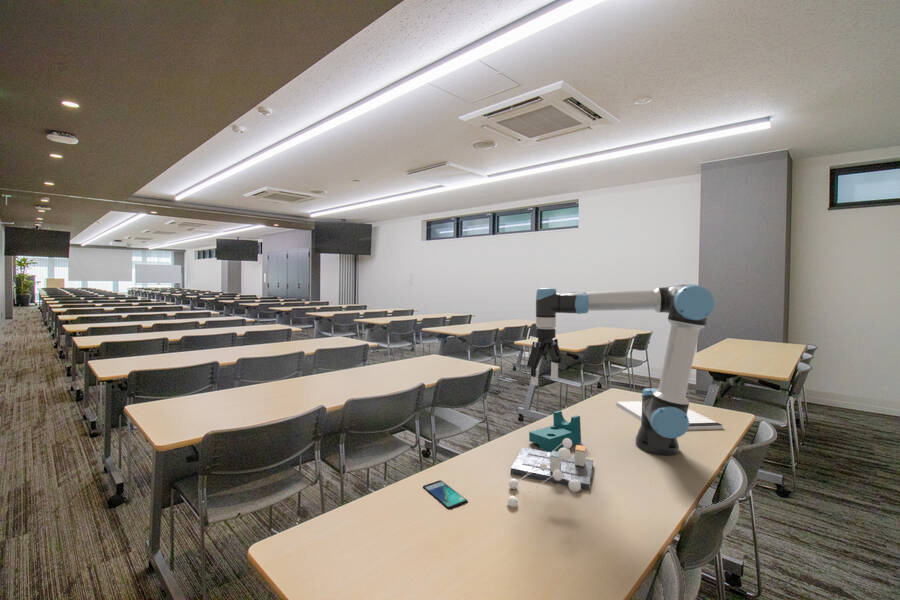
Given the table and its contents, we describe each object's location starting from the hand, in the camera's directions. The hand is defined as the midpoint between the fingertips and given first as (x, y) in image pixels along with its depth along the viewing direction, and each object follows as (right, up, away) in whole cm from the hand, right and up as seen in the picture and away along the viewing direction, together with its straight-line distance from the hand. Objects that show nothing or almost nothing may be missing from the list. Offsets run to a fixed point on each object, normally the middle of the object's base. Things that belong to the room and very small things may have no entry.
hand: (544, 381), depth 154 cm
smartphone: (-39, -27, -35) cm, 59 cm away
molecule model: (-9, -28, -34) cm, 45 cm away
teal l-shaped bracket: (+5, -26, +4) cm, 27 cm away
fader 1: (-2, -24, -23) cm, 34 cm away
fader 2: (+8, -24, -18) cm, 31 cm away
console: (-2, -26, -18) cm, 32 cm away
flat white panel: (+68, -25, +38) cm, 82 cm away
